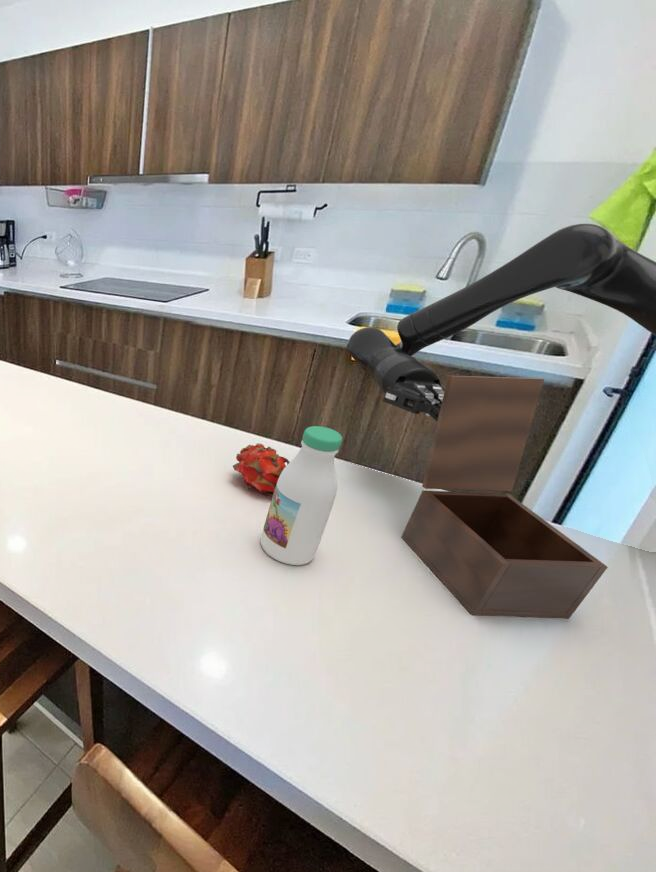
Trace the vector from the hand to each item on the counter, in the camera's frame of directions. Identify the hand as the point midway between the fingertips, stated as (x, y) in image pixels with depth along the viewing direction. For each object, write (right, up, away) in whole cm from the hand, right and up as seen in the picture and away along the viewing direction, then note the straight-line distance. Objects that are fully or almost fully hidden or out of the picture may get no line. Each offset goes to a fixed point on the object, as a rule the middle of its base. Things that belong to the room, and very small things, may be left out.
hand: (451, 420), depth 75 cm
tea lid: (+2, -2, -3) cm, 5 cm away
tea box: (+1, -22, -3) cm, 23 cm away
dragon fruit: (-22, -11, +15) cm, 29 cm away
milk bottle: (-25, -20, +1) cm, 32 cm away
